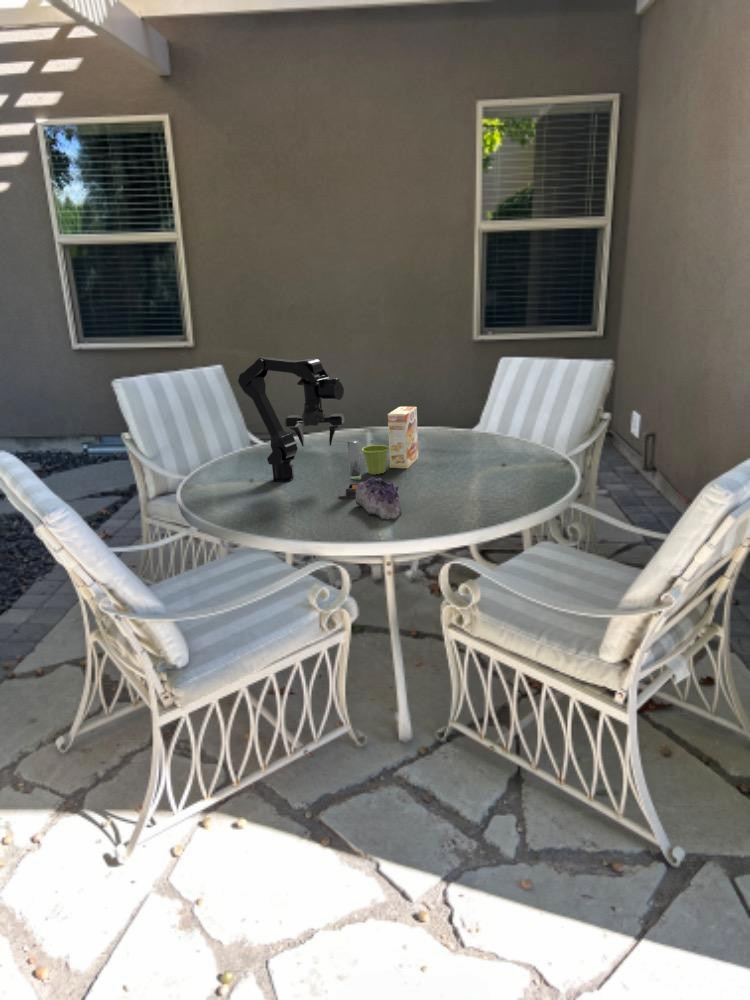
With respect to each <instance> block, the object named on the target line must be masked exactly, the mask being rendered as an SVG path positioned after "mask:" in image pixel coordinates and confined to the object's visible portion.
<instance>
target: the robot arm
mask: <svg viewBox="0 0 750 1000" xmlns="http://www.w3.org/2000/svg"><path fill="white" fill-rule="evenodd" d="M270 371H271V372H279V373H280V372H281V373H287V374H293V375H295V376H296V377H298V378H300V380H299V381H297V383H296V385H298V386H303V388H302V390H303V400H304V409H303V413H302V417H301V416H300V414H291V415H288V416H287V417H286V418H285V419H284V425H285V427H287V428H289V429H290V430H293V431H294V432H295V434H296V435H297V438H298V441H300V444H301V447H304V446H305V438H304V431H303V426H304V427H308V426H315V427H316V426H319V424H323V423H329V424H330V425H329V426H328V427H329V441H328V443H329V446H332V444H333V440H334V436H335V432H336V430H337V429H338V428H339V427H340V426H342V425H343V424H344V423H345V415H344V414H343V413H332V414H331V415H330V416H326V415H325V410H324V409H323V400H329V401H330V400H331V401H341V400H342V398H343V397H344V392H345V389H344V385H343V383H341V382H340V378H339V377H334V378H331V376H329V374H328V373H327V371H326V370H325V368H324V367H323V365H322V363H321V361H320V360H319V359H318V358H309V359H301V360H293V359H284V358H276V357H270V356H264V357H259V358H258V359H256V360H255V361H254V363H253V364H251V365H250V366H249V367H248V368H246V370H244V372H243V371H242V372H241V373H240V374H239V376H238V380H237V381H238V385H239V387H240V388H241V390H242V391H243V393H244V394H245V395H247V396H248V397H249V398H250V399H251V400H252V402H253V403H254V406H255V407H256V410H257V412H258V414H259V416H260V418H261V420H262V422H263V424H264V426H265V428H266V430H267V432H268V434H269V436H270V448H271V451H272V452H271V453H270V454H269V455H268V456H267V458H266V461H267V463H268V464H269V465H271V468H272V480H271V481H272V482H291V481H292V480H293V478H294V477H295V468H294V467H295V466H294V464H293V462H292V461H293V460H294V459H295V457H296V453H297V452H298V450H299V449H298V446H297V445H298V442H297V441H296V440H295V437H294V435H293V433H291V432H290V433H287V432H286V431H285V430H284V428H283V426H282V424H281V422H280V420H279V418H278V416H277V414H276V412H275V410H274V408H273V406H272V403H271V402H270V399H269V397H268V396H267V393H266V387H267V386H266V384H267V383H266V381H265V378H266V377H267V376H268V374H269V372H270Z"/></svg>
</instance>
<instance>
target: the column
mask: <svg viewBox="0 0 750 1000" xmlns="http://www.w3.org/2000/svg"><path fill="white" fill-rule="evenodd" d="M347 449H348V451H347V453H348V465H349V468H348V469H349V479H350V481H359V480H361V479H362V474H361V473H362V472H361V460H360V459H361V457H360V455H361V454H360V441H359V440H349V441H347Z"/></svg>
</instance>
